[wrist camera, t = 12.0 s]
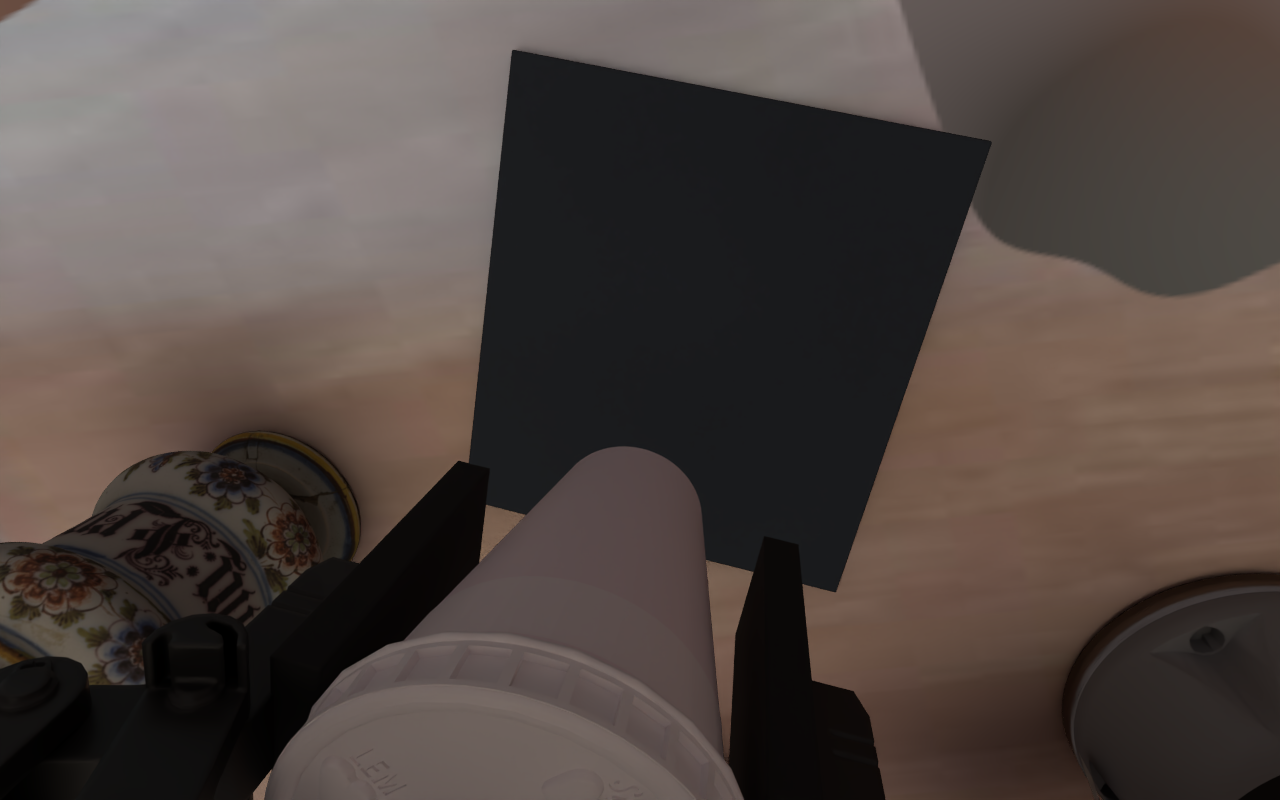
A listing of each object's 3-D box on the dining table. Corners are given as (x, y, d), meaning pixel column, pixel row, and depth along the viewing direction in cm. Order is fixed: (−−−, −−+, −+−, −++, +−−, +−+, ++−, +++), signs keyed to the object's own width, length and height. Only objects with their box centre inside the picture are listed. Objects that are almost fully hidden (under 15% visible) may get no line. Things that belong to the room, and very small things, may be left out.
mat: (988, 141, 28) (992, 141, 28) (834, 586, 36) (836, 592, 36) (516, 51, 30) (511, 49, 29) (468, 494, 38) (464, 499, 37)
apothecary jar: (202, 376, 38) (-237, 556, 21) (402, 467, 38) (120, 719, 21) (174, 546, 42) (-206, 805, 26) (353, 628, 42) (88, 940, 26)
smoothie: (475, 417, 17) (-374, 1221, 4) (730, 372, 16) (601, 1370, 3) (545, 630, 19) (99, 1636, 6) (778, 607, 18) (831, 1851, 5)
